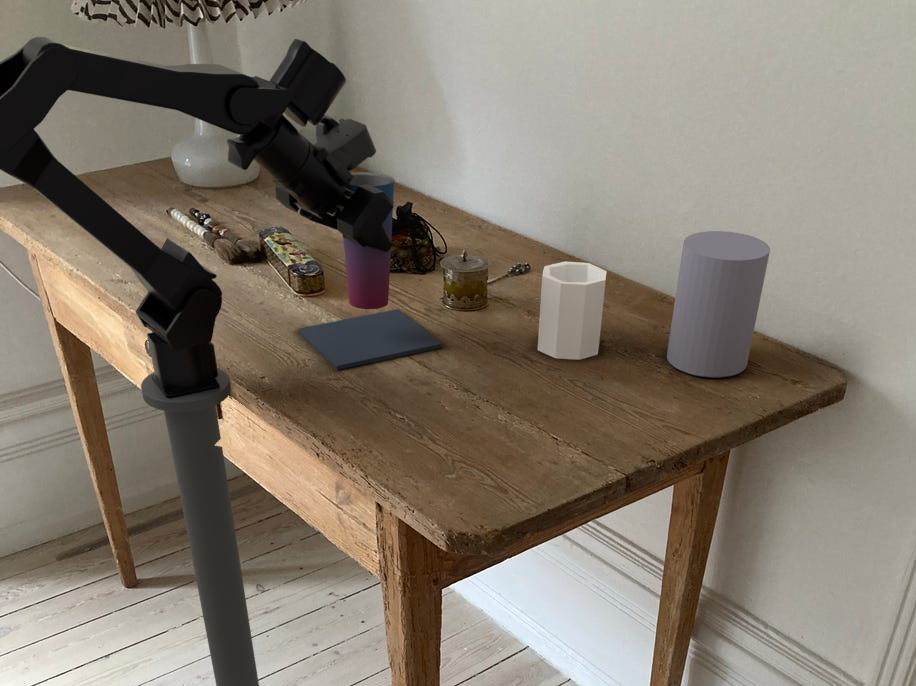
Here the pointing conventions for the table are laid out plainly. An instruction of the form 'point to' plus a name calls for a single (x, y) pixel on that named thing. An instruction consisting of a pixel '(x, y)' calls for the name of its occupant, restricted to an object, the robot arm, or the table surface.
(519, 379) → the table surface
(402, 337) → the placemat
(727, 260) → the container
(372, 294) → the cup
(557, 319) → the white octagonal pot
